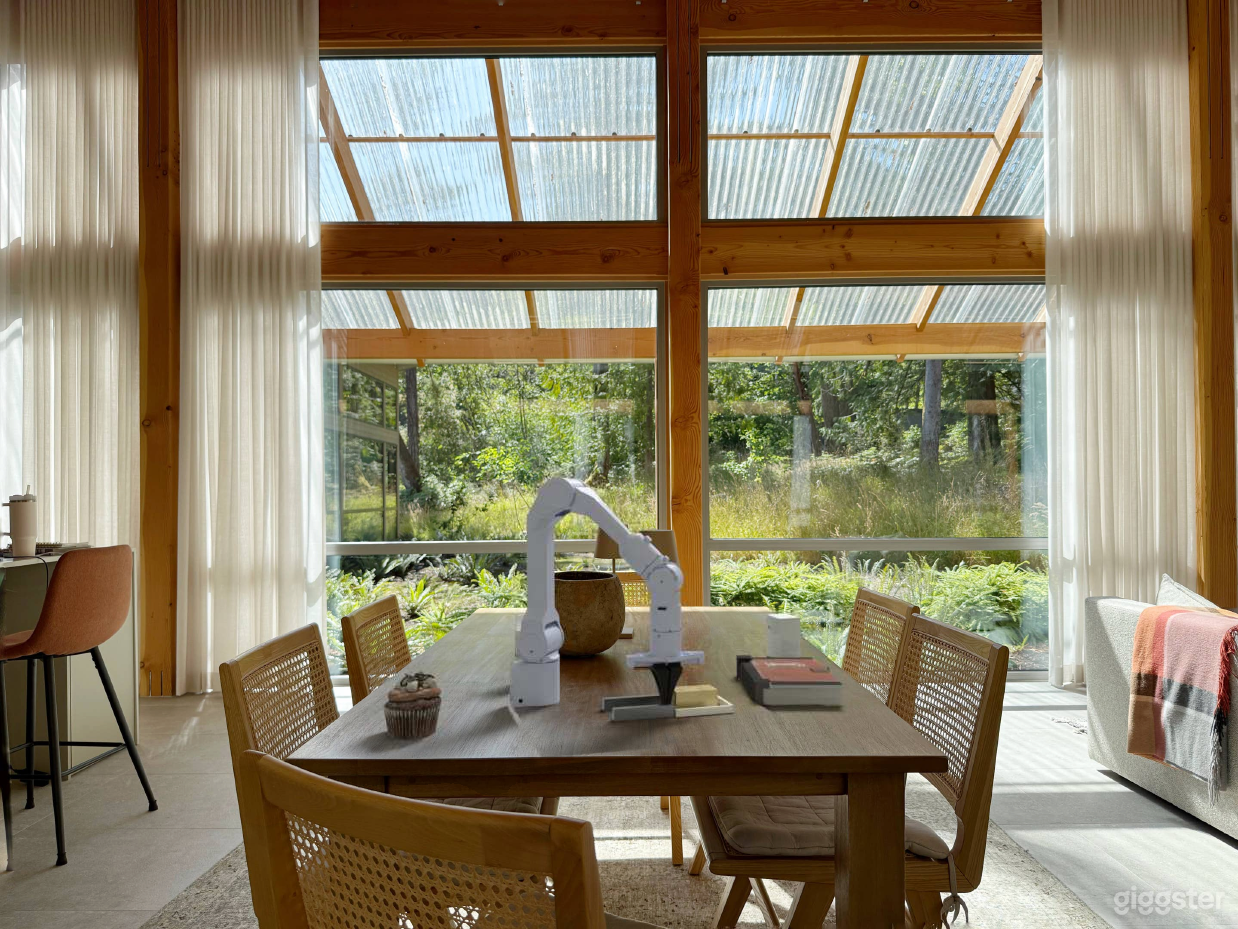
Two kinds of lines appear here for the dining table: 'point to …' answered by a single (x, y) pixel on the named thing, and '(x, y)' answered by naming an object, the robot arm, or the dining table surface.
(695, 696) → the brass chip
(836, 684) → the book
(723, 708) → the tray
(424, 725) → the cupcake
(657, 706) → the rail
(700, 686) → the brass chip
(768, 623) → the small box
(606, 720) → the dining table surface
